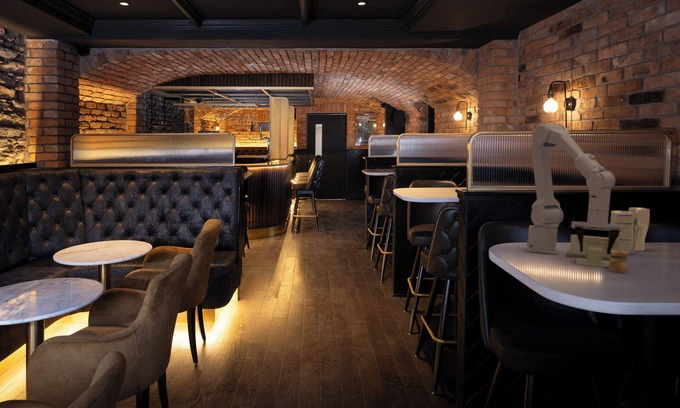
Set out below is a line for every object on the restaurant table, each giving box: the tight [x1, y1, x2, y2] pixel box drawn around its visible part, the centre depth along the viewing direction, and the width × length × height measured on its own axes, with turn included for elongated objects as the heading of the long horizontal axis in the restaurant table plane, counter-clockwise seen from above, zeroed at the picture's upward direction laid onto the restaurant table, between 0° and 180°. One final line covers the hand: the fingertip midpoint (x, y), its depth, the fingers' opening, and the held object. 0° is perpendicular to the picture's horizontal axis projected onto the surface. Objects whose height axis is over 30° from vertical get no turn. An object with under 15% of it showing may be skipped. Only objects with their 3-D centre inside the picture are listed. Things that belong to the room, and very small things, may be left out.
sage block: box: [587, 242, 603, 264], centre depth 159 cm, size 4×4×6 cm
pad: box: [575, 258, 610, 268], centre depth 159 cm, size 10×7×1 cm
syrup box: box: [609, 210, 633, 255], centre depth 177 cm, size 6×6×14 cm
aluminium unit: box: [565, 234, 619, 261], centre depth 167 cm, size 16×5×7 cm, turn 66°
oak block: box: [608, 250, 629, 274], centre depth 150 cm, size 4×4×6 cm
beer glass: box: [628, 207, 651, 252], centre depth 182 cm, size 7×7×15 cm
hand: (594, 252), depth 159 cm, fingers open, 7 cm apart
